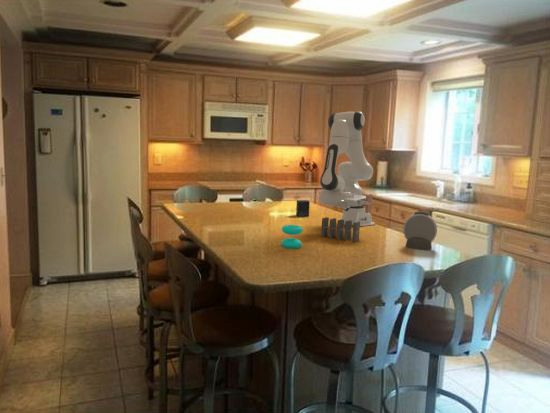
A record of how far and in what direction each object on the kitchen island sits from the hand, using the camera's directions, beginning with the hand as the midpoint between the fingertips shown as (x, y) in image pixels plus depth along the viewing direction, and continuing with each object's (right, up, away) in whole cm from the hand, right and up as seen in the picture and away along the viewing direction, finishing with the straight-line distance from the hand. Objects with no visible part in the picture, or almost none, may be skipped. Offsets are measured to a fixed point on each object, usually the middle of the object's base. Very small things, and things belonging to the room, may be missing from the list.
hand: (370, 202), depth 261 cm
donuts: (-44, -22, -31) cm, 58 cm away
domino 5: (-10, -20, -11) cm, 25 cm away
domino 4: (-14, -20, -9) cm, 26 cm away
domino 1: (-25, -18, -2) cm, 31 cm away
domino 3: (-18, -19, -6) cm, 27 cm away
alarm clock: (+20, -23, -20) cm, 37 cm away
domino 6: (-1, -5, +1) cm, 6 cm away
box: (-33, -9, +65) cm, 73 cm away
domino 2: (-21, -19, -4) cm, 29 cm away
